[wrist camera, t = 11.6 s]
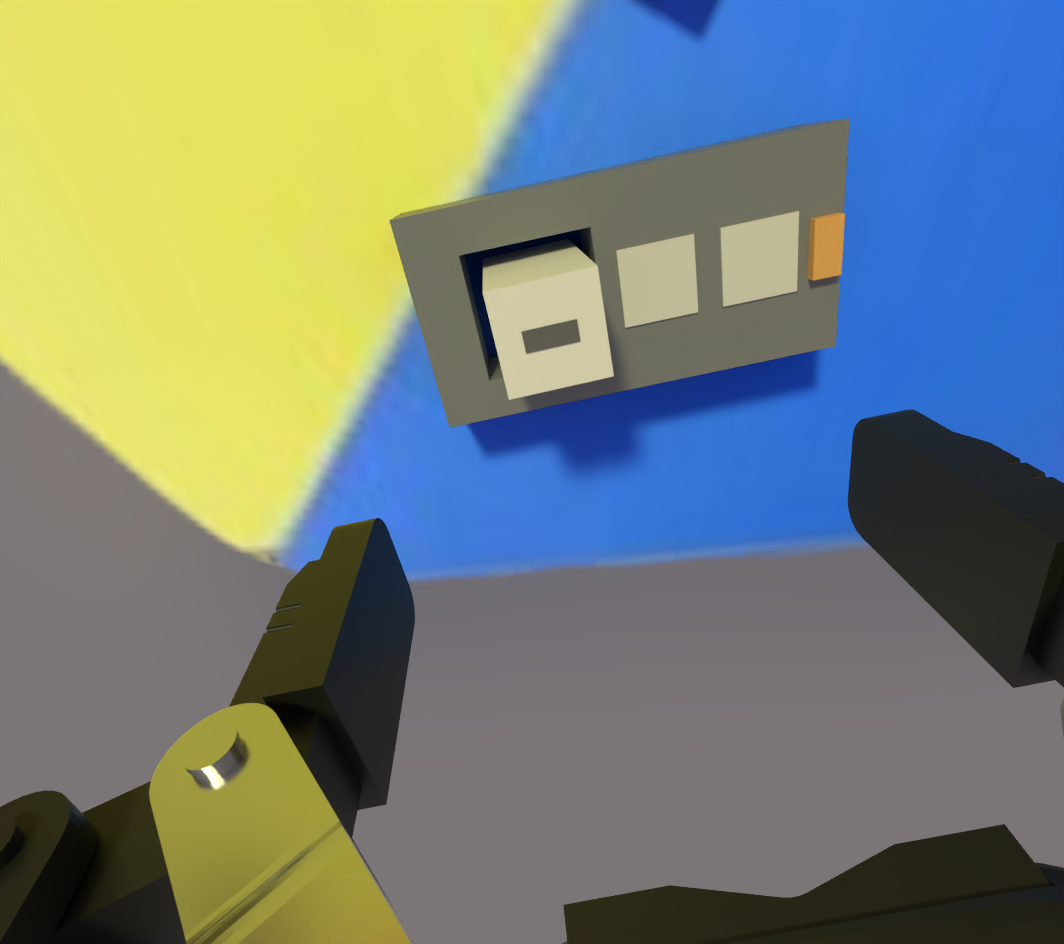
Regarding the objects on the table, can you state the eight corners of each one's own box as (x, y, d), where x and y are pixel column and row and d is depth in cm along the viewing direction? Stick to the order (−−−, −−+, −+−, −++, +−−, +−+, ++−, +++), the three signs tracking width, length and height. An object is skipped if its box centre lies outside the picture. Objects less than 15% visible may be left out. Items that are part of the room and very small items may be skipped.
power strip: (804, 124, 25) (856, 117, 22) (798, 326, 29) (841, 348, 26) (400, 213, 26) (387, 221, 22) (453, 400, 30) (448, 431, 26)
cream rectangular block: (567, 238, 27) (597, 265, 19) (581, 323, 28) (614, 376, 21) (483, 258, 27) (482, 292, 20) (502, 342, 29) (508, 400, 21)
